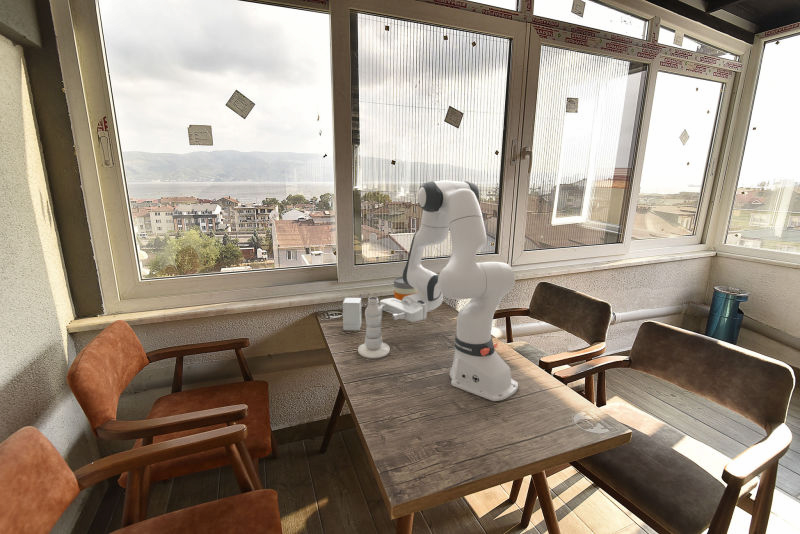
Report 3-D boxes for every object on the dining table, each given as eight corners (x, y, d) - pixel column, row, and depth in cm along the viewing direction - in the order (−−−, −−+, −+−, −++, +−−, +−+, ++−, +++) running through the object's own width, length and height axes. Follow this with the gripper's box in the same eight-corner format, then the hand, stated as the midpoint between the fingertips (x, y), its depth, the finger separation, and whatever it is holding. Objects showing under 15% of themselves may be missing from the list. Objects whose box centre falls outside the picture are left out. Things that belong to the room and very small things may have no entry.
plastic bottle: (365, 344, 146) (364, 295, 141) (382, 344, 146) (382, 295, 141) (364, 351, 140) (363, 301, 135) (382, 351, 140) (382, 301, 135)
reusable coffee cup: (396, 313, 181) (396, 284, 177) (391, 305, 193) (391, 277, 189) (421, 311, 184) (422, 282, 180) (414, 303, 196) (414, 276, 192)
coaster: (396, 351, 142) (396, 349, 142) (371, 361, 134) (371, 358, 134) (376, 341, 151) (376, 338, 151) (352, 350, 143) (351, 347, 143)
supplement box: (359, 330, 161) (359, 303, 158) (342, 330, 161) (342, 302, 158) (362, 324, 168) (361, 297, 165) (345, 323, 168) (344, 297, 165)
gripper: (394, 292, 159) (368, 299, 150) (429, 304, 144) (403, 313, 135) (394, 306, 160) (368, 314, 151) (429, 320, 146) (403, 329, 137)
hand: (385, 313), depth 143 cm, fingers open, 8 cm apart
